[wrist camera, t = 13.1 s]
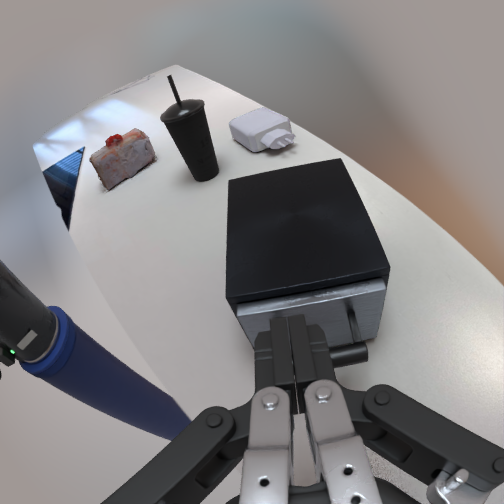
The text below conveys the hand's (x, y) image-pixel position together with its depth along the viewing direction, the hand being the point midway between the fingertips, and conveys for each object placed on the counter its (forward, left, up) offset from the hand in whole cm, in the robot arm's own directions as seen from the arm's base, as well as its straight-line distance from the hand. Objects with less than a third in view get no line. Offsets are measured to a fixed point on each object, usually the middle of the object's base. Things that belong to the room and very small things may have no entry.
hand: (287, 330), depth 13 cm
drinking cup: (+5, +44, -17) cm, 48 cm away
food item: (-9, +61, -17) cm, 64 cm away
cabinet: (+7, +13, -17) cm, 23 cm away
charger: (+19, +45, -17) cm, 52 cm away
